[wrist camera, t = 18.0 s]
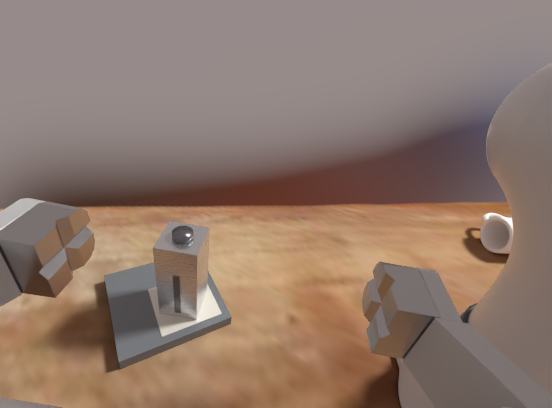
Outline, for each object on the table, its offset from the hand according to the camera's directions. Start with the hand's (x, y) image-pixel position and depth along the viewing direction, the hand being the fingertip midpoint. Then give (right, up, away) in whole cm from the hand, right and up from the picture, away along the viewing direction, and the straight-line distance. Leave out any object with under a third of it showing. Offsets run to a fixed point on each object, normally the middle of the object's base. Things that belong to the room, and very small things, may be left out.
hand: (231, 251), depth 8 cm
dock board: (-15, -13, +34) cm, 40 cm away
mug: (+53, -8, +61) cm, 82 cm away
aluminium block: (-12, -12, +33) cm, 37 cm away
